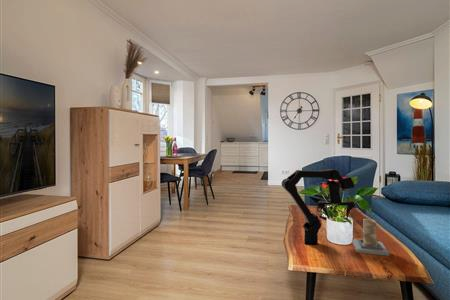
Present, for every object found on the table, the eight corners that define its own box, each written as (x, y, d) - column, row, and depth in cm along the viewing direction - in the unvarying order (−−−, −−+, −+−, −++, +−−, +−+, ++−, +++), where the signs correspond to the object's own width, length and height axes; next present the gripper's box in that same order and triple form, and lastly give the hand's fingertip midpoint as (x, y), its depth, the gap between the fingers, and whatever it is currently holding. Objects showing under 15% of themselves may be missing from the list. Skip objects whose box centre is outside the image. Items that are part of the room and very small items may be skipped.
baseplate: (357, 252, 125) (357, 247, 125) (352, 241, 138) (352, 237, 138) (389, 255, 121) (389, 250, 120) (381, 244, 134) (381, 239, 134)
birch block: (365, 246, 128) (365, 221, 128) (363, 242, 133) (363, 218, 132) (376, 247, 126) (376, 222, 126) (373, 244, 131) (373, 219, 131)
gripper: (352, 187, 141) (356, 214, 142) (318, 188, 149) (321, 214, 150) (353, 192, 131) (357, 221, 132) (316, 193, 140) (319, 220, 140)
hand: (338, 219), depth 139 cm, fingers open, 9 cm apart
